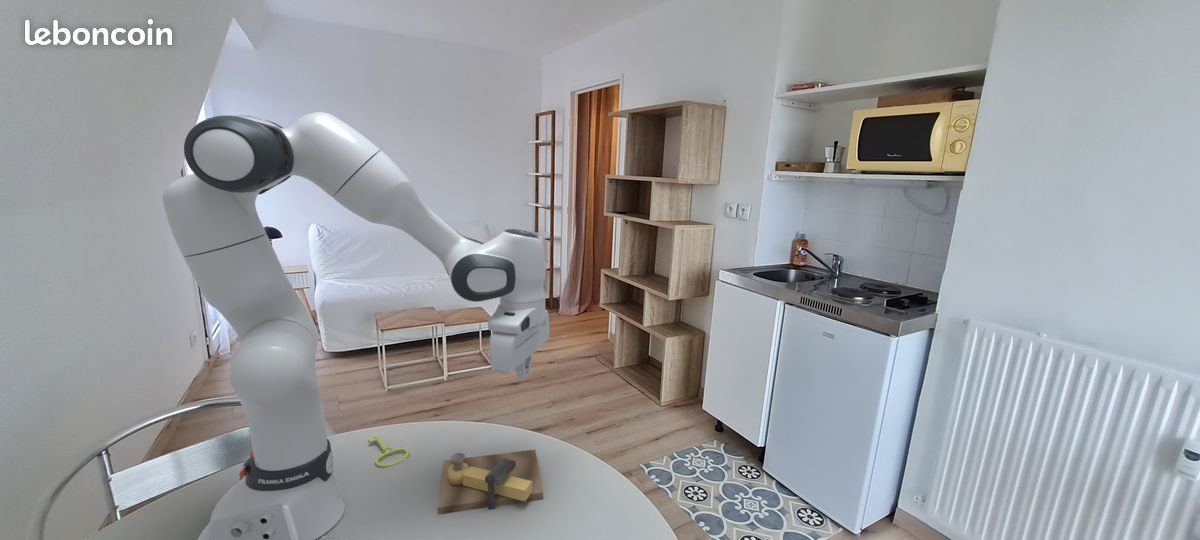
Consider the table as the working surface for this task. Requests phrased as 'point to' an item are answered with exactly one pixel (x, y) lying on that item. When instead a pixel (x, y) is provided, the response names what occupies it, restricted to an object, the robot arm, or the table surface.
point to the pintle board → (488, 480)
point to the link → (476, 480)
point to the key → (387, 453)
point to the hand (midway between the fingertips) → (523, 375)
